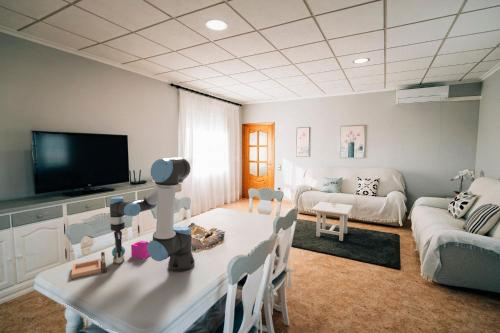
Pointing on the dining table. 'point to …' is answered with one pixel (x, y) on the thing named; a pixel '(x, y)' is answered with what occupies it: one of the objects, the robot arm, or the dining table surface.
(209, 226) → the dining table surface
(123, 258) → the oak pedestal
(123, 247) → the ball
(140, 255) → the magenta block
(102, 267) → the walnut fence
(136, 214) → the robot arm
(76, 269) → the terracotta dish
